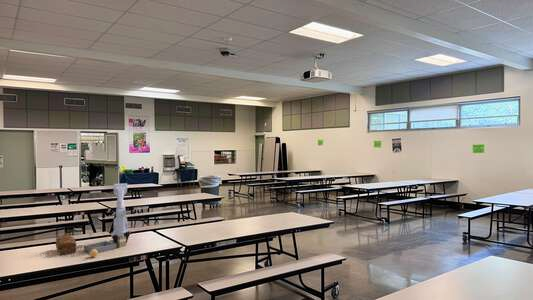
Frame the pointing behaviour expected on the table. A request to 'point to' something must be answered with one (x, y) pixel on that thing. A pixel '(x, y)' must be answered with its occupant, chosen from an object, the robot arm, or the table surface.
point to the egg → (93, 253)
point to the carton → (121, 241)
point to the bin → (101, 246)
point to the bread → (65, 245)
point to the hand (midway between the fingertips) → (120, 244)
